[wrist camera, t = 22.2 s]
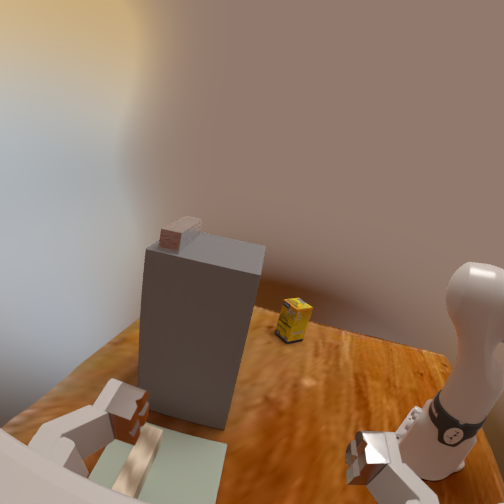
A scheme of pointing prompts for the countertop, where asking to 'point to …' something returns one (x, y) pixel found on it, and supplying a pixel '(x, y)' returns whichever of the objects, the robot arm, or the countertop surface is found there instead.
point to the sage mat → (170, 469)
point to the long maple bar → (139, 462)
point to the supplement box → (293, 320)
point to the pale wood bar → (179, 234)
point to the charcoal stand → (196, 325)
